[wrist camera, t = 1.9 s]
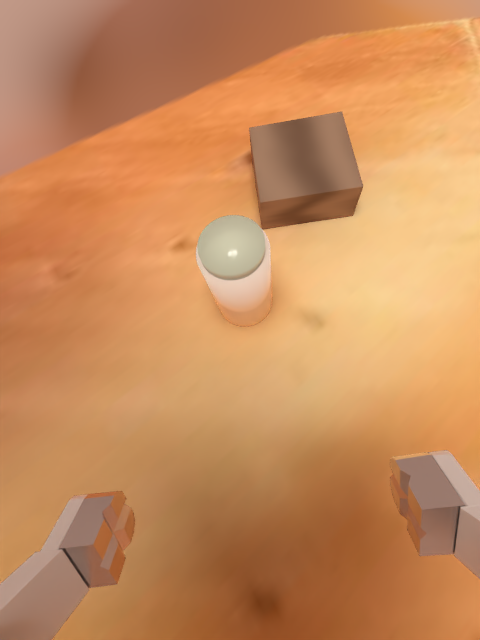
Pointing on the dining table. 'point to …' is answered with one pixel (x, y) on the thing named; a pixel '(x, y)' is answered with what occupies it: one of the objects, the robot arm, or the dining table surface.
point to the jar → (237, 268)
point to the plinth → (304, 170)
